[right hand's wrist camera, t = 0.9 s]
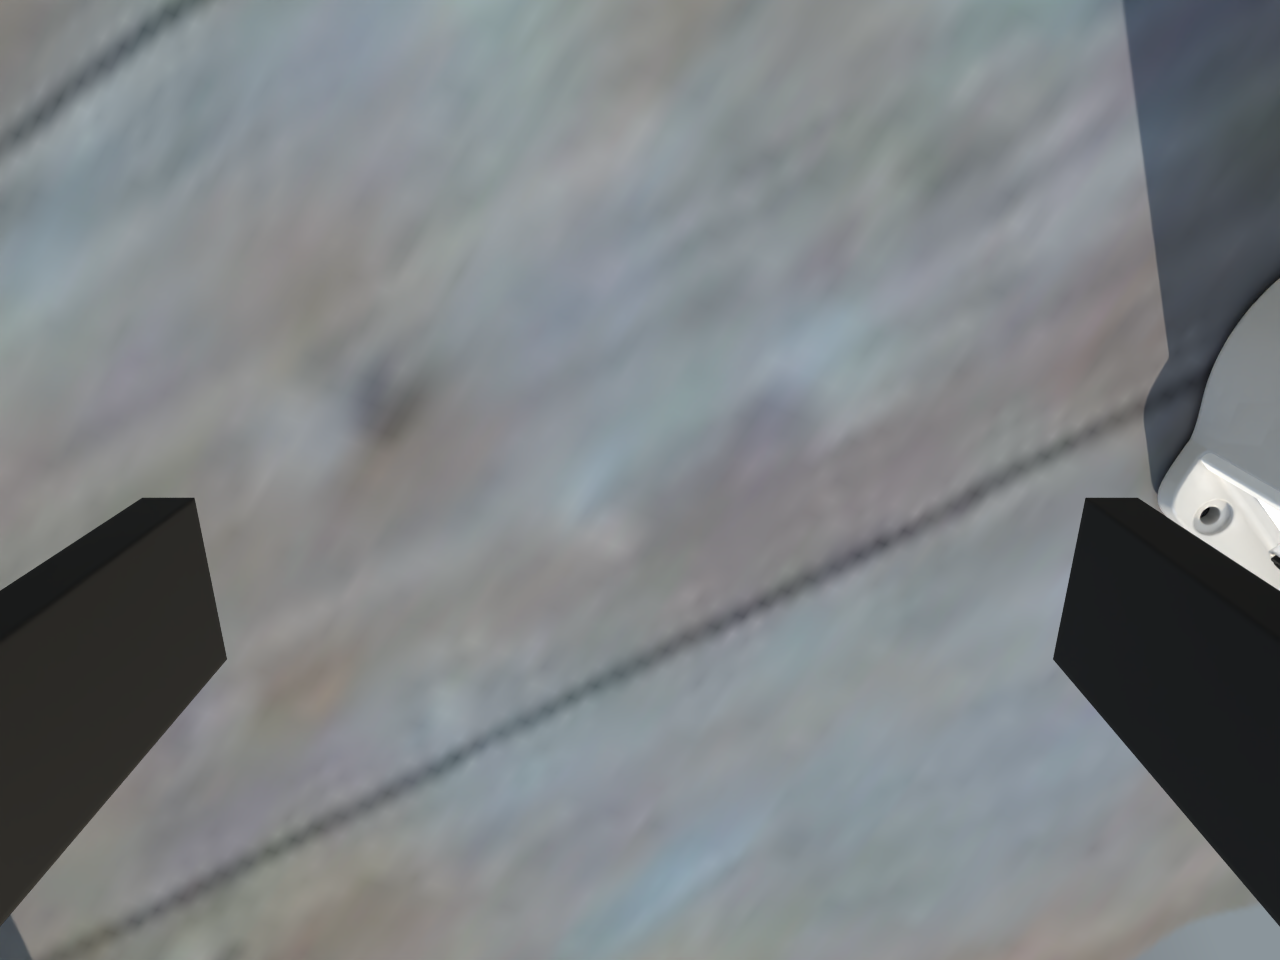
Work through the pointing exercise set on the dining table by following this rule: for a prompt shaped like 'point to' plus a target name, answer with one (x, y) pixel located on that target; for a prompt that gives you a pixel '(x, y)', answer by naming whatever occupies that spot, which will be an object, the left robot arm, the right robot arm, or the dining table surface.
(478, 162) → the dining table surface
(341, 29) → the dining table surface
